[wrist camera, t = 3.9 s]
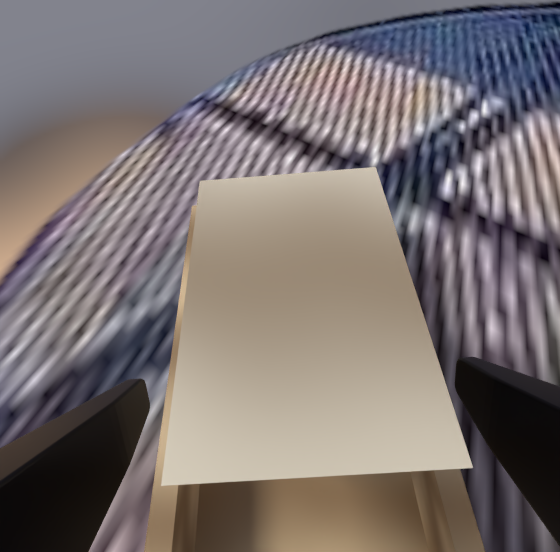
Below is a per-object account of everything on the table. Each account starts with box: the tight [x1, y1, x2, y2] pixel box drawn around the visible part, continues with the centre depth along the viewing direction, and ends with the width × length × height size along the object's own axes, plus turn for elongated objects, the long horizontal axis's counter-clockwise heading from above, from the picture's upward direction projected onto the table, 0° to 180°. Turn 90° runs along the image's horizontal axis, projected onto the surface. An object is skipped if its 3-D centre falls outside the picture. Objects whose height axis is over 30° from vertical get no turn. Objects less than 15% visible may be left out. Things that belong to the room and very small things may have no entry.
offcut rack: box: [144, 206, 485, 552], centre depth 16 cm, size 20×14×4 cm
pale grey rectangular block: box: [161, 167, 473, 486], centre depth 10 cm, size 5×4×13 cm
